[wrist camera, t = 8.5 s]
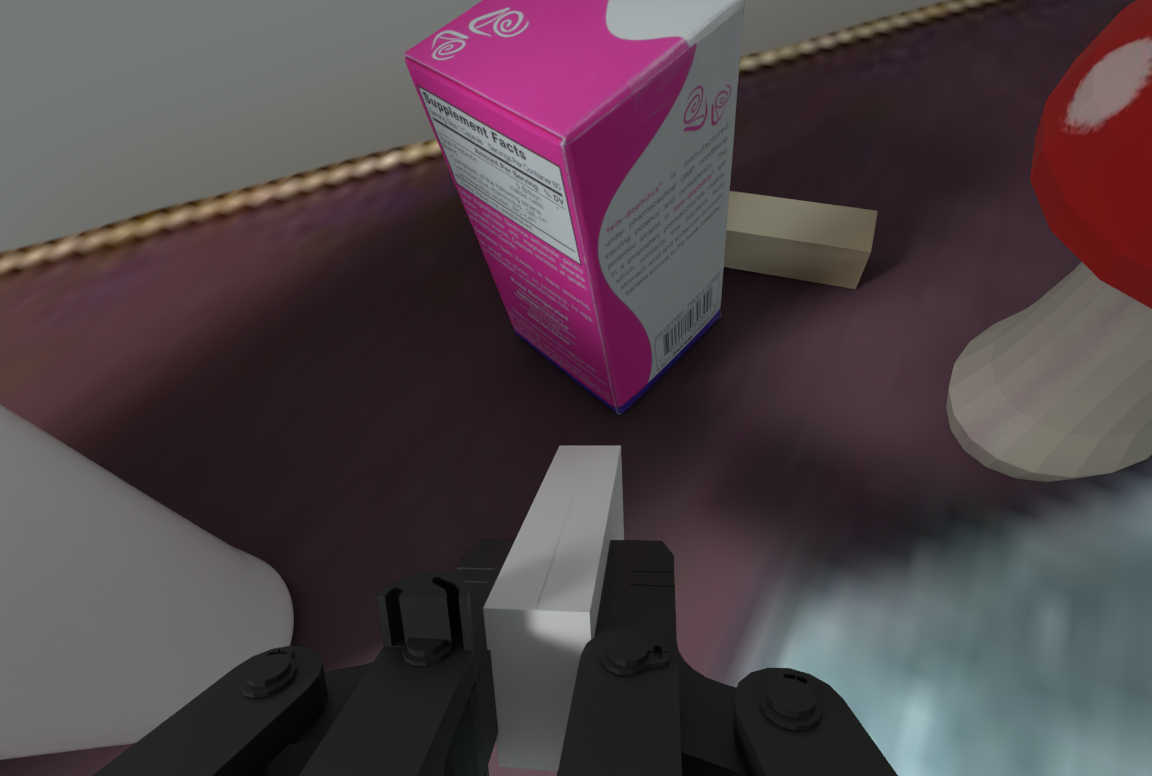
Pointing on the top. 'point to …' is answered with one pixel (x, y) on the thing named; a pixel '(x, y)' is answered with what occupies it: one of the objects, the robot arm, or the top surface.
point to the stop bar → (798, 239)
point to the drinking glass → (112, 602)
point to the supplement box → (593, 171)
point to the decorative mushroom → (1078, 285)
